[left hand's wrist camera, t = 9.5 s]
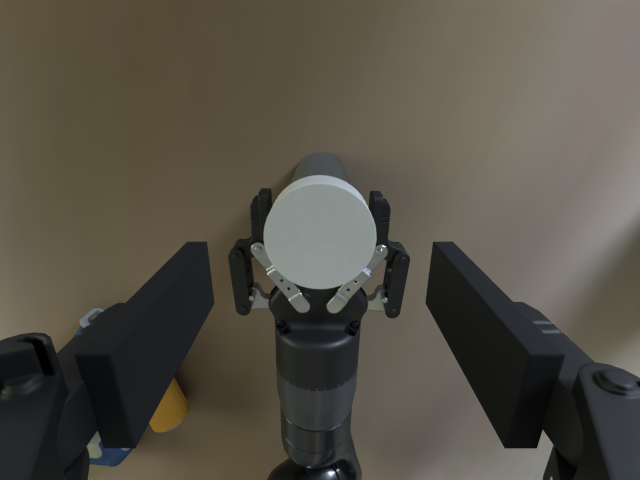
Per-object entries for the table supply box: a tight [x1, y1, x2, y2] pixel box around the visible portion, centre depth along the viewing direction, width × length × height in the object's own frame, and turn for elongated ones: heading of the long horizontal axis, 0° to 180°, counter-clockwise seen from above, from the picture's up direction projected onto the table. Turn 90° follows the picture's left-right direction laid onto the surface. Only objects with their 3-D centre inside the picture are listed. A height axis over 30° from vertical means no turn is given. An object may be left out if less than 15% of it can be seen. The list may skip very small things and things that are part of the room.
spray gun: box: [73, 308, 189, 467], centre depth 39 cm, size 21×4×15 cm
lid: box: [264, 175, 376, 289], centre depth 18 cm, size 6×6×2 cm
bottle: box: [289, 153, 351, 185], centre depth 25 cm, size 5×5×15 cm
